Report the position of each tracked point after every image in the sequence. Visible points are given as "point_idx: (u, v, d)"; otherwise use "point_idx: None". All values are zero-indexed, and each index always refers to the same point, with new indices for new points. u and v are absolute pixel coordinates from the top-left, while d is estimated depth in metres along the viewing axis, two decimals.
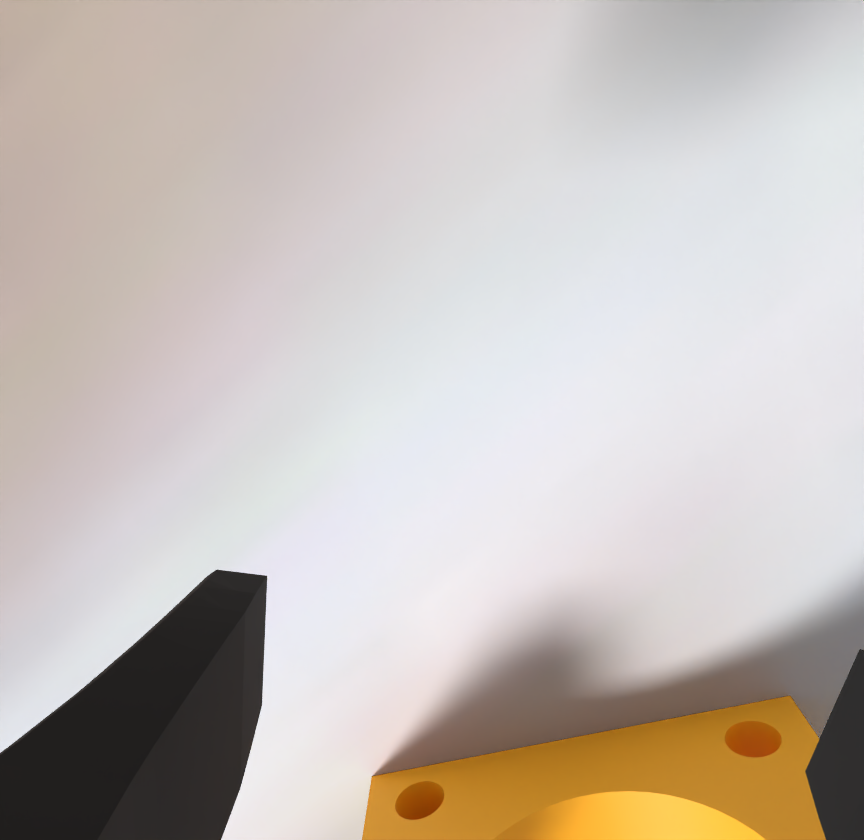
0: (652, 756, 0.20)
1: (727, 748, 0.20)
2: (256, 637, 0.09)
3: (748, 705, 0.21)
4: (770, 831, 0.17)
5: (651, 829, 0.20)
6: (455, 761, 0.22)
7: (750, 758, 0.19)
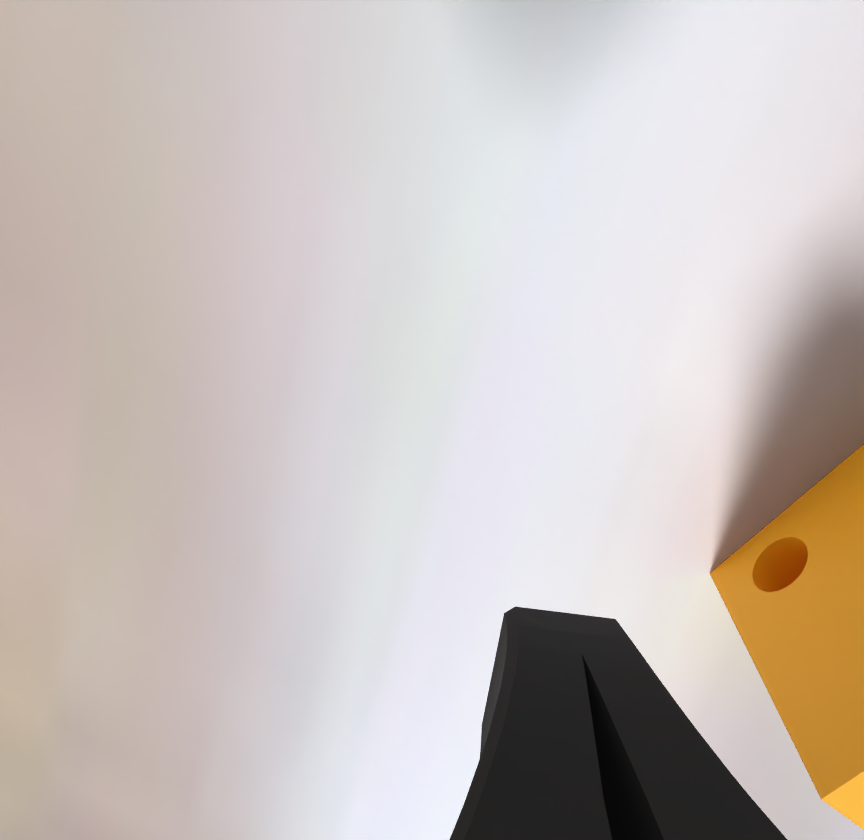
0: None
1: None
2: None
3: None
4: None
5: None
6: (793, 504, 0.17)
7: None
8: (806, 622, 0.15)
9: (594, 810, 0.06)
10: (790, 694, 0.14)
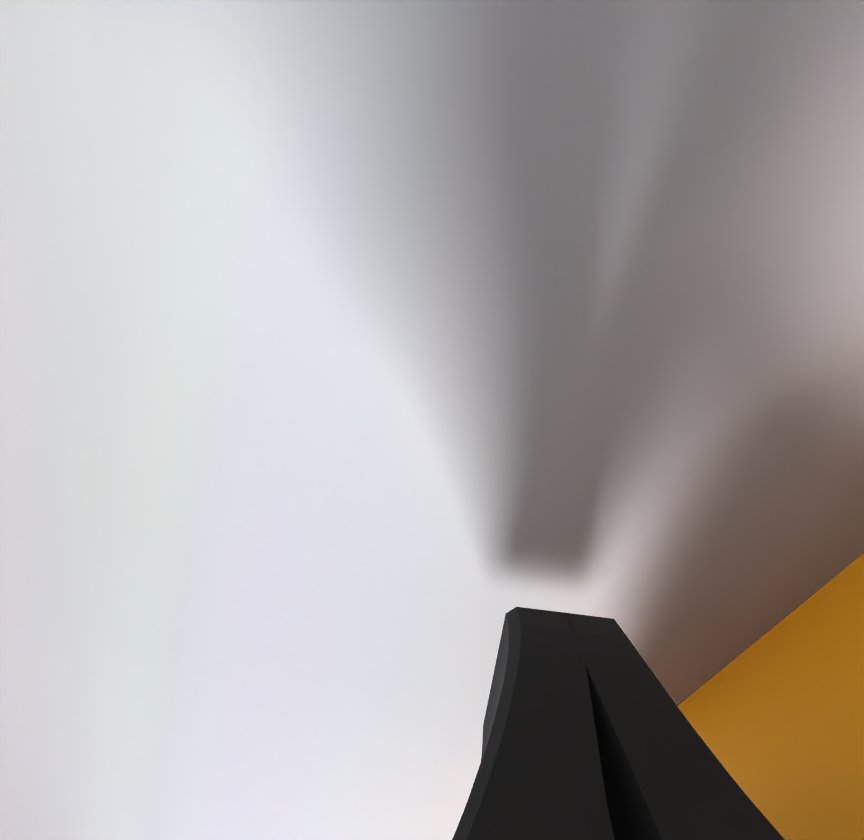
0: None
1: None
2: None
3: None
4: None
5: None
6: (708, 685, 0.11)
7: None
8: None
9: (596, 810, 0.06)
10: None
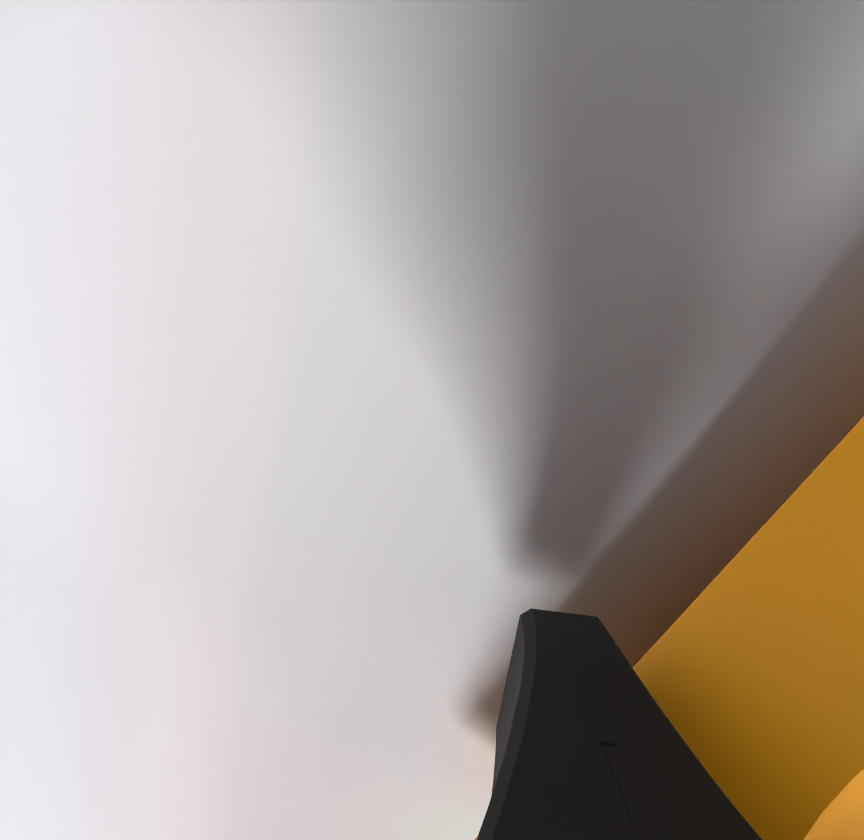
0: None
1: None
2: None
3: None
4: None
5: None
6: None
7: None
8: None
9: (618, 813, 0.06)
10: None
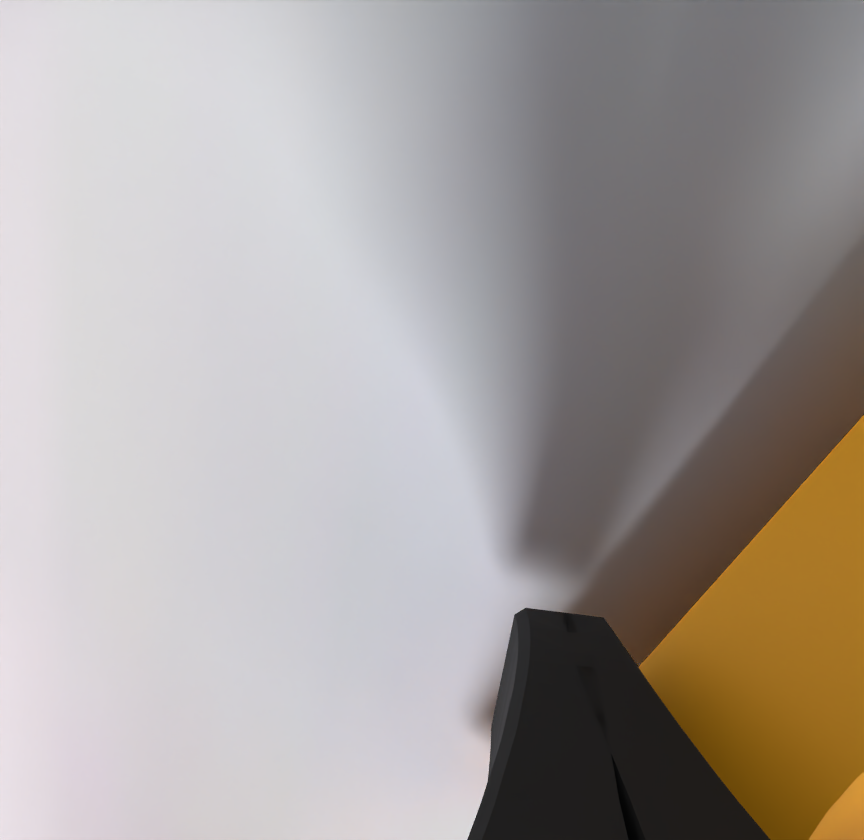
0: None
1: None
2: None
3: None
4: None
5: None
6: None
7: None
8: None
9: (610, 812, 0.06)
10: None
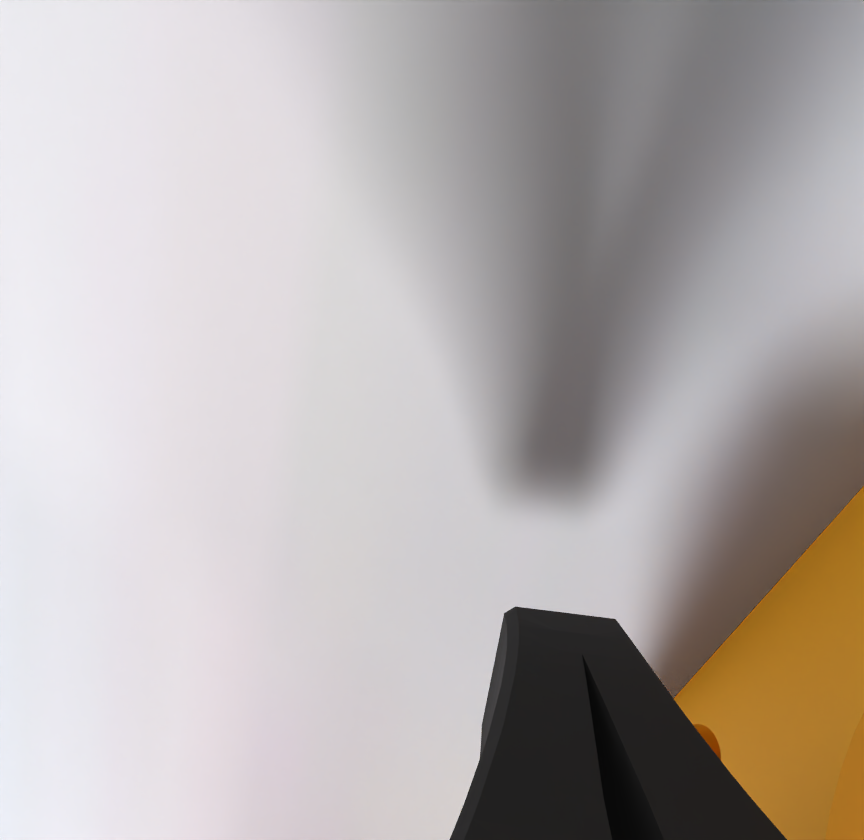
0: None
1: None
2: None
3: None
4: None
5: None
6: (705, 665, 0.12)
7: None
8: None
9: (594, 810, 0.06)
10: None
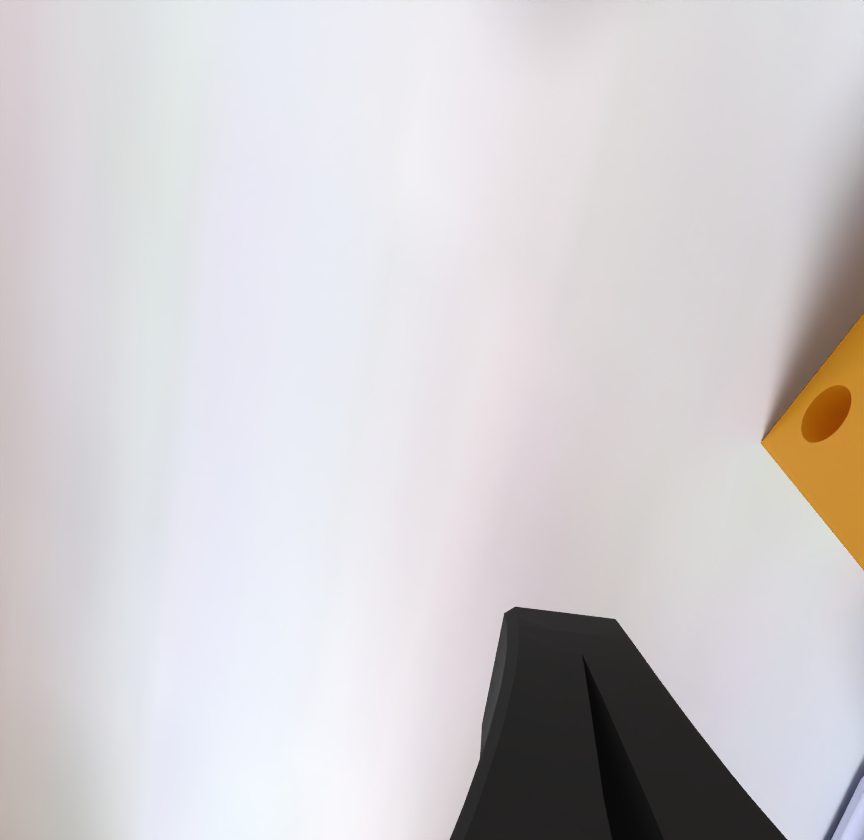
0: None
1: None
2: None
3: None
4: None
5: None
6: (831, 356, 0.17)
7: None
8: (858, 457, 0.15)
9: (594, 810, 0.06)
10: (853, 526, 0.14)
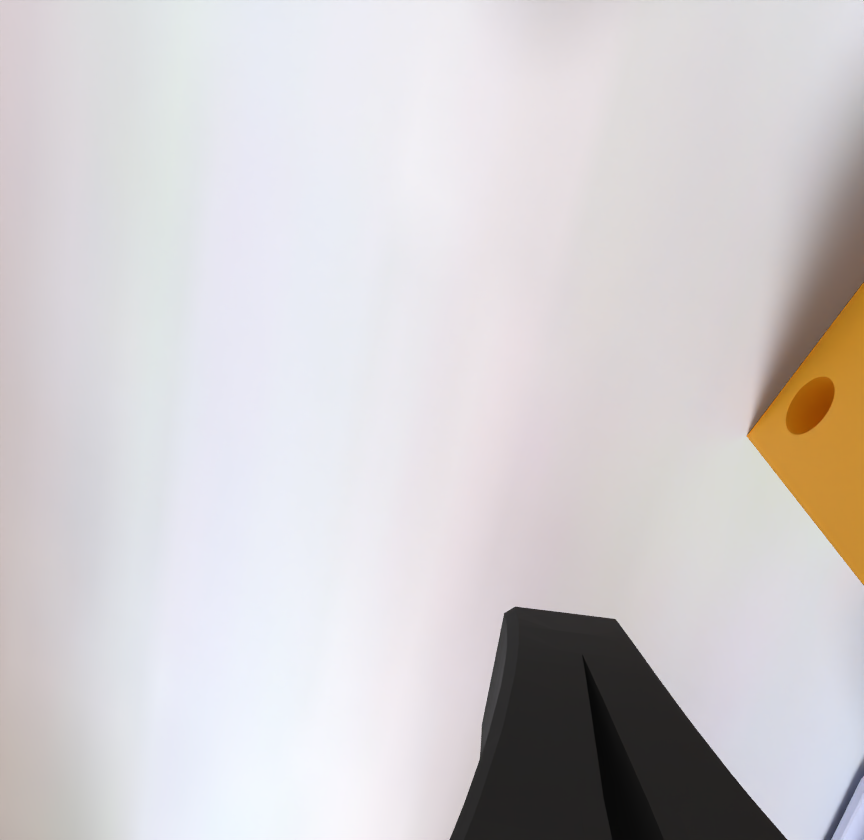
0: None
1: None
2: None
3: None
4: None
5: None
6: (815, 347, 0.17)
7: None
8: (841, 448, 0.15)
9: (594, 810, 0.06)
10: (834, 517, 0.14)
